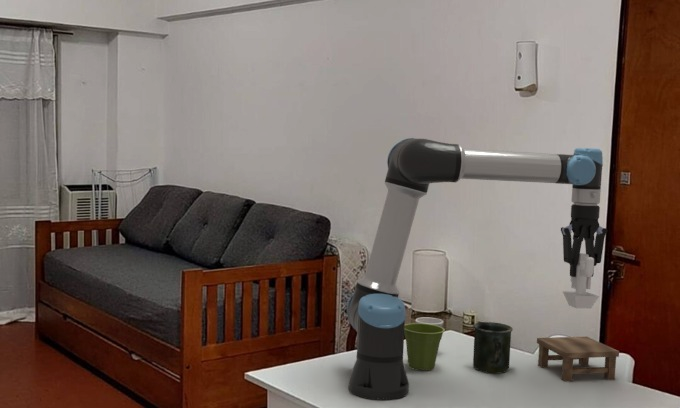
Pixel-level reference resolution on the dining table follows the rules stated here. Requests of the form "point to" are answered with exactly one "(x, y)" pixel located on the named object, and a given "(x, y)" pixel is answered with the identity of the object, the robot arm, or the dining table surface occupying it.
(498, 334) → the mug
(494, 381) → the dining table surface
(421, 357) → the plant pot
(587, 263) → the figurine
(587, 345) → the walnut stool
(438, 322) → the dixie cup
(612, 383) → the dining table surface
